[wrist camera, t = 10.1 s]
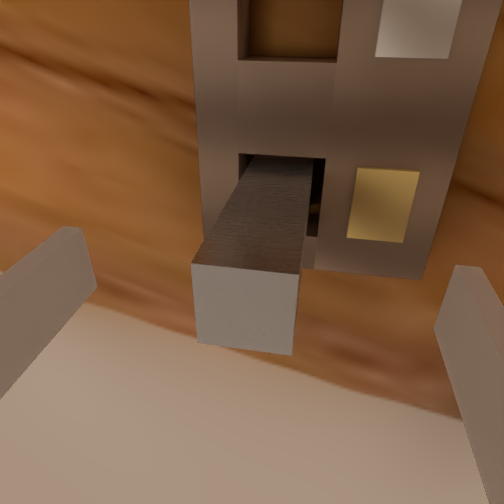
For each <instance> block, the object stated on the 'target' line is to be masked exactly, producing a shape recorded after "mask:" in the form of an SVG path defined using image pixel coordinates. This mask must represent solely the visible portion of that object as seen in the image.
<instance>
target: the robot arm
mask: <svg viewBox="0 0 504 504" xmlns="http://www.w3.org/2000/svg"><path fill="white" fill-rule="evenodd" d="M96 288H97V284H96V280H95V276H94V272H93V269H92V265H91V261H90V257H89V253H88V249H87V246H86V242H85V238H84V234H83V230H82V228H77V227H67V226H63V227H61V228H60V229H59V230H58V231H56V232H55V233H54V234H53V235H51V236H50V237H49V238H47V239H46V240H45V241H44V242H42V243H41V244H40V245H39V246H37V247H36V248H35V249H33V250H32V251H31V252H30V253H28V254H27V255H26V256H25V257H23V258H22V259H21V260H19V261H18V262H17V263H16V264H14V265H13V266H12V267H11V268H9V269H8V270H7V271H6V272H4V273H3V274H2V275H0V399H1V398H2V397H3V396H4V394H5V393H6V392H7V391H8V390H9V389H10V387H11V386H12V385H13V384H14V383H15V382H16V381H17V379H18V378H19V377H20V376H21V375H22V374H23V372H24V371H25V370H26V369H27V368H28V366H29V365H30V364H31V363H32V362H33V361H34V360H35V359H36V357H37V356H38V355H39V354H40V353H41V352H42V350H43V349H44V348H45V347H46V346H47V345H48V343H49V342H50V341H51V340H52V339H53V337H55V335H56V334H57V333H58V332H59V331H60V330H61V328H62V327H63V326H64V325H65V324H66V323H67V321H68V320H69V319H70V318H71V317H72V316H73V314H74V313H75V312H76V311H77V310H78V309H79V308H80V306H81V305H82V304H83V303H84V302H85V301H86V299H87V298H88V297H89V296H90V295H91V294H92V293H93V291H94V290H95V289H96ZM433 329H434V332H435V335H436V338H437V341H438V344H439V347H440V350H441V354H442V357H443V360H444V363H445V366H446V369H447V372H448V376H449V379H450V382H451V385H452V388H453V391H454V394H455V398H456V401H457V404H458V407H459V410H460V413H461V416H462V420H463V423H464V426H465V429H466V432H467V435H468V438H469V441H470V445H471V448H472V451H473V454H474V457H475V460H476V463H477V467H478V470H479V473H480V476H481V479H482V482H483V485H484V488H485V492H486V495H487V498H488V501H489V504H504V306H503V304H502V303H501V301H500V299H499V297H498V296H497V294H496V292H495V291H494V289H493V287H492V285H491V284H490V282H489V280H488V279H487V277H486V275H485V273H484V272H483V270H482V268H481V267H473V266H463V265H455V268H454V270H453V273H452V276H451V279H450V282H449V285H448V288H447V291H446V293H445V296H444V299H443V302H442V305H441V308H440V311H439V313H438V316H437V319H436V322H435V325H434V328H433Z"/></svg>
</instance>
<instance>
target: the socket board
mask: <svg viewBox="0 0 504 504" xmlns="http://www.w3.org/2000/svg"><path fill="white" fill-rule="evenodd" d="M502 2H503V0H342V9H341V19H340V28H339V37H338V46H337V55H336V58H315V57H274V56H249V0H189V10H190V26H191V42H192V58H193V74H194V90H195V106H196V122H197V138H198V154H199V170H200V186H201V202H202V218H203V234H204V240H205V238H206V237H207V235H208V233H209V231H210V230H211V228H212V226H213V225H214V223H215V221H216V220H217V218H218V216H219V214H220V213H221V211H222V209H223V208H224V206H225V204H226V203H227V201H228V199H229V197H230V196H231V194H232V192H233V191H234V189H235V187H236V185H237V184H238V182H239V180H240V179H241V177H242V175H243V174H244V172H245V170H246V168H247V167H248V161H249V154H262V155H278V156H294V157H310V158H325V163H324V173H323V182H322V191H321V200H320V209H319V215H311V214H309V216H308V224H307V233H306V241H305V249H304V258H303V266H302V268H307V269H317V270H327V271H336V272H346V273H355V274H365V275H375V276H384V277H394V278H403V279H413V280H422V277H423V273H424V270H425V266H426V263H427V260H428V256H429V253H430V249H431V246H432V242H433V239H434V236H435V232H436V229H437V225H438V222H439V218H440V215H441V211H442V208H443V205H444V201H445V198H446V194H447V191H448V187H449V184H450V181H451V177H452V174H453V170H454V167H455V163H456V160H457V157H458V153H459V150H460V146H461V143H462V139H463V136H464V132H465V129H466V126H467V122H468V119H469V115H470V112H471V108H472V105H473V102H474V98H475V95H476V91H477V88H478V84H479V81H480V78H481V74H482V71H483V67H484V64H485V60H486V57H487V54H488V50H489V47H490V43H491V40H492V36H493V33H494V29H495V26H496V23H497V19H498V16H499V12H500V9H501V5H502Z"/></svg>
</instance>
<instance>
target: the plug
mask: <svg viewBox="0 0 504 504" xmlns="http://www.w3.org/2000/svg"><path fill="white" fill-rule="evenodd" d="M313 166H314V158H310V157H294V156H278V155H262V154H255V155H254V157H253V158H252V160H251V162H250V163H249V165H248V167H247V168H246V170H245V172H244V174H243V175H242V177H241V179H240V180H239V182H238V184H237V185H236V187H235V189H234V191H233V192H232V194H231V196H230V197H229V199H228V201H227V203H226V204H225V206H224V208H223V209H222V211H221V213H220V214H219V216H218V218H217V220H216V221H215V223H214V225H213V226H212V228H211V230H210V231H209V233H208V235H207V237H206V238H205V240H204V242H203V243H202V245H201V247H200V248H199V250H198V252H197V254H196V255H195V257H194V259H193V260H192V262H191V272H192V284H193V295H194V307H195V318H196V330H197V342H198V343H203V344H211V345H218V346H225V347H232V348H239V349H247V350H254V351H261V352H268V353H276V354H283V355H290V356H292V350H293V341H294V333H295V325H296V316H297V308H298V300H299V291H300V283H301V275H302V266H303V258H304V249H305V241H306V233H307V224H308V216H309V208H310V198H311V187H312V177H313Z"/></svg>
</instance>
